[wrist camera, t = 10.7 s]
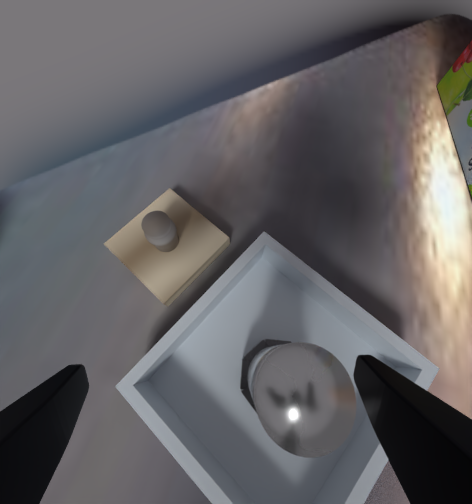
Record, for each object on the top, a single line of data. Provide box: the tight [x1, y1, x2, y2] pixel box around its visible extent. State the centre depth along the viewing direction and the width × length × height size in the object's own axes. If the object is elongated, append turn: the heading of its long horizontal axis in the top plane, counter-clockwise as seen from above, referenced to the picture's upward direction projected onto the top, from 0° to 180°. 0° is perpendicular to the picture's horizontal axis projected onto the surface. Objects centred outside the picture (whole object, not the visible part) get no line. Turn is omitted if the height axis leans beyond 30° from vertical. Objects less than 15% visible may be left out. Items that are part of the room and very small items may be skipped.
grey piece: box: [240, 339, 356, 458], centre depth 15 cm, size 5×5×10 cm
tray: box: [115, 231, 439, 504], centre depth 18 cm, size 15×15×4 cm
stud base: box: [104, 188, 230, 306], centre depth 22 cm, size 8×8×5 cm
